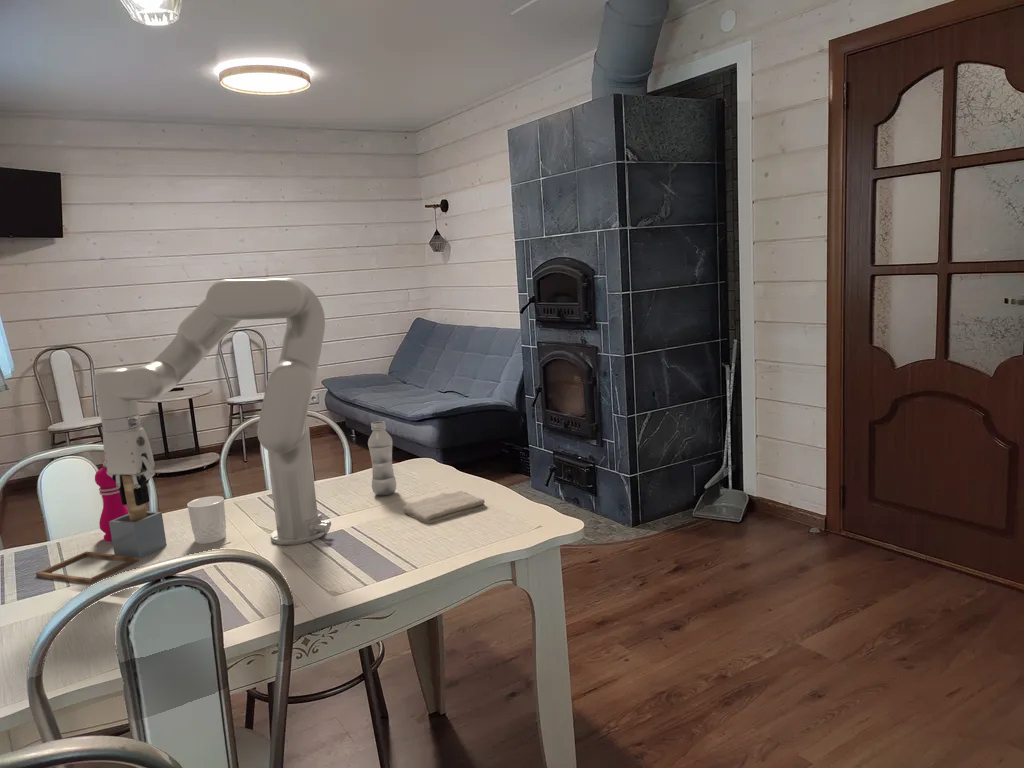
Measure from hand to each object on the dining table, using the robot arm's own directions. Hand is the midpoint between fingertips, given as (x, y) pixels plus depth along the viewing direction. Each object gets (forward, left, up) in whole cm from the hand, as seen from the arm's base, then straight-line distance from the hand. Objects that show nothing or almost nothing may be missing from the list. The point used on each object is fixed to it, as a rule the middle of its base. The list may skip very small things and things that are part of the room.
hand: (135, 502), depth 166 cm
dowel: (0, 0, -9) cm, 9 cm away
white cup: (-11, -10, -13) cm, 19 cm away
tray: (+3, +11, -12) cm, 17 cm away
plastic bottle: (-34, -50, -13) cm, 61 cm away
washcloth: (-57, -41, -13) cm, 71 cm away
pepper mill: (+14, -6, -13) cm, 20 cm away
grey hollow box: (0, 0, -12) cm, 12 cm away
